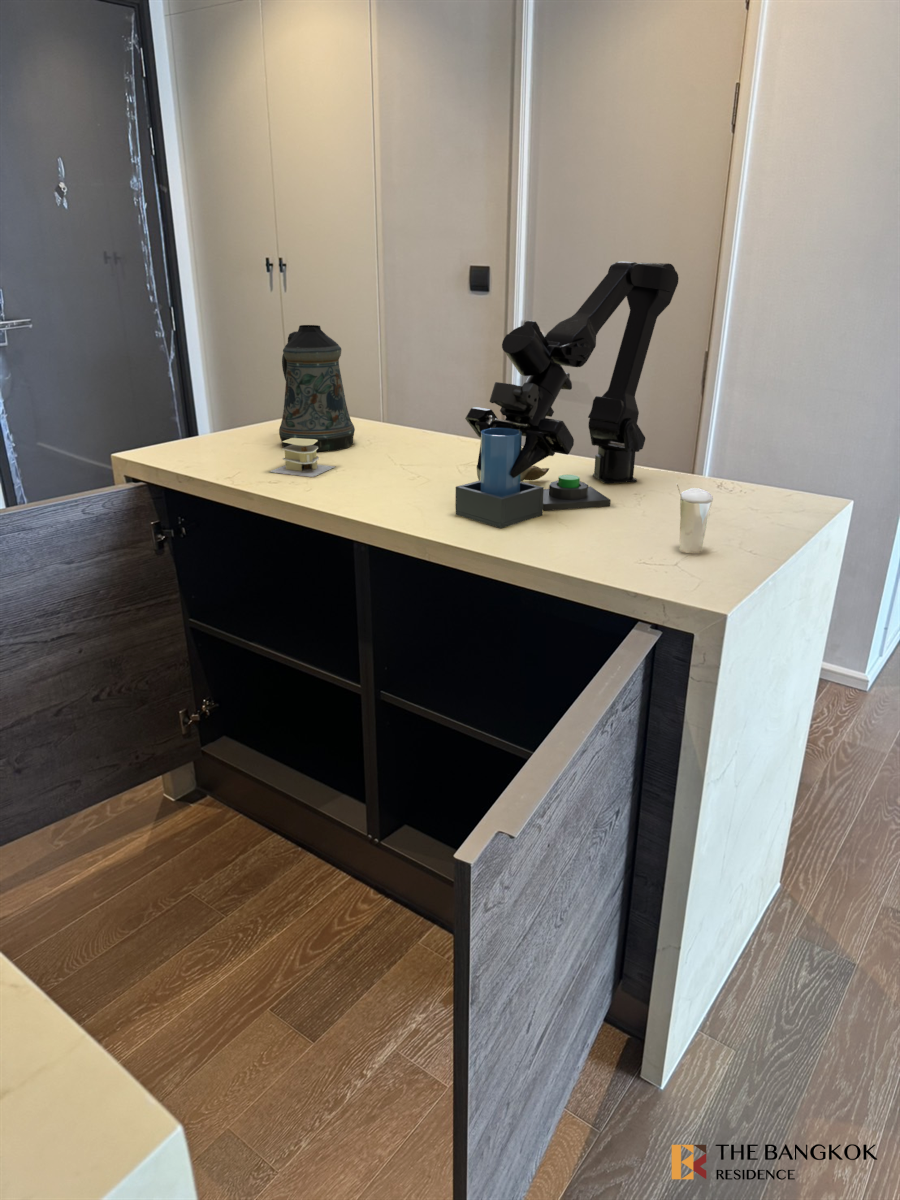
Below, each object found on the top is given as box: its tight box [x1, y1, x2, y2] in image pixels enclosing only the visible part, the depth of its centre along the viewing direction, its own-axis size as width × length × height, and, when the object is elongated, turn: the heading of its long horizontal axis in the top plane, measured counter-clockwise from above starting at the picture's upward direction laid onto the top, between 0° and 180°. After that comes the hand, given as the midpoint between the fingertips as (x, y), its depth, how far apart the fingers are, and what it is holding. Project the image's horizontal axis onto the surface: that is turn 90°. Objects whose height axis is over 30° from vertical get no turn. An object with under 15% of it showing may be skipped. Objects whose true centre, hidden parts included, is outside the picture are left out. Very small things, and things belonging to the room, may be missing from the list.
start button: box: [558, 474, 581, 488], centre depth 149 cm, size 4×4×2 cm
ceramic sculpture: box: [476, 446, 550, 482], centre depth 158 cm, size 11×9×15 cm
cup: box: [480, 428, 523, 497], centre depth 140 cm, size 6×6×13 cm
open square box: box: [455, 480, 545, 529], centre depth 141 cm, size 10×10×5 cm
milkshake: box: [676, 483, 714, 555], centre depth 125 cm, size 4×5×10 cm
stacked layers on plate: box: [269, 438, 337, 478], centre depth 169 cm, size 10×9×6 cm
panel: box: [542, 479, 611, 512], centre depth 149 cm, size 12×9×3 cm
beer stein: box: [278, 324, 356, 453], centre depth 187 cm, size 16×19×25 cm
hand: (495, 472), depth 139 cm, fingers closed on cup, 6 cm apart
